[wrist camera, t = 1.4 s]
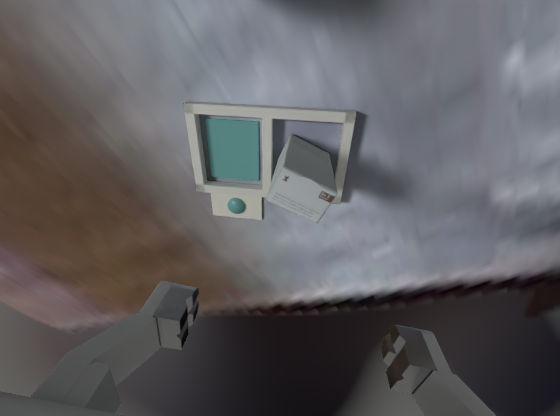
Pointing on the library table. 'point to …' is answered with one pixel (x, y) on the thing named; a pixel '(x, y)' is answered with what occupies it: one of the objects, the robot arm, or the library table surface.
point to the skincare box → (303, 180)
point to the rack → (250, 151)
